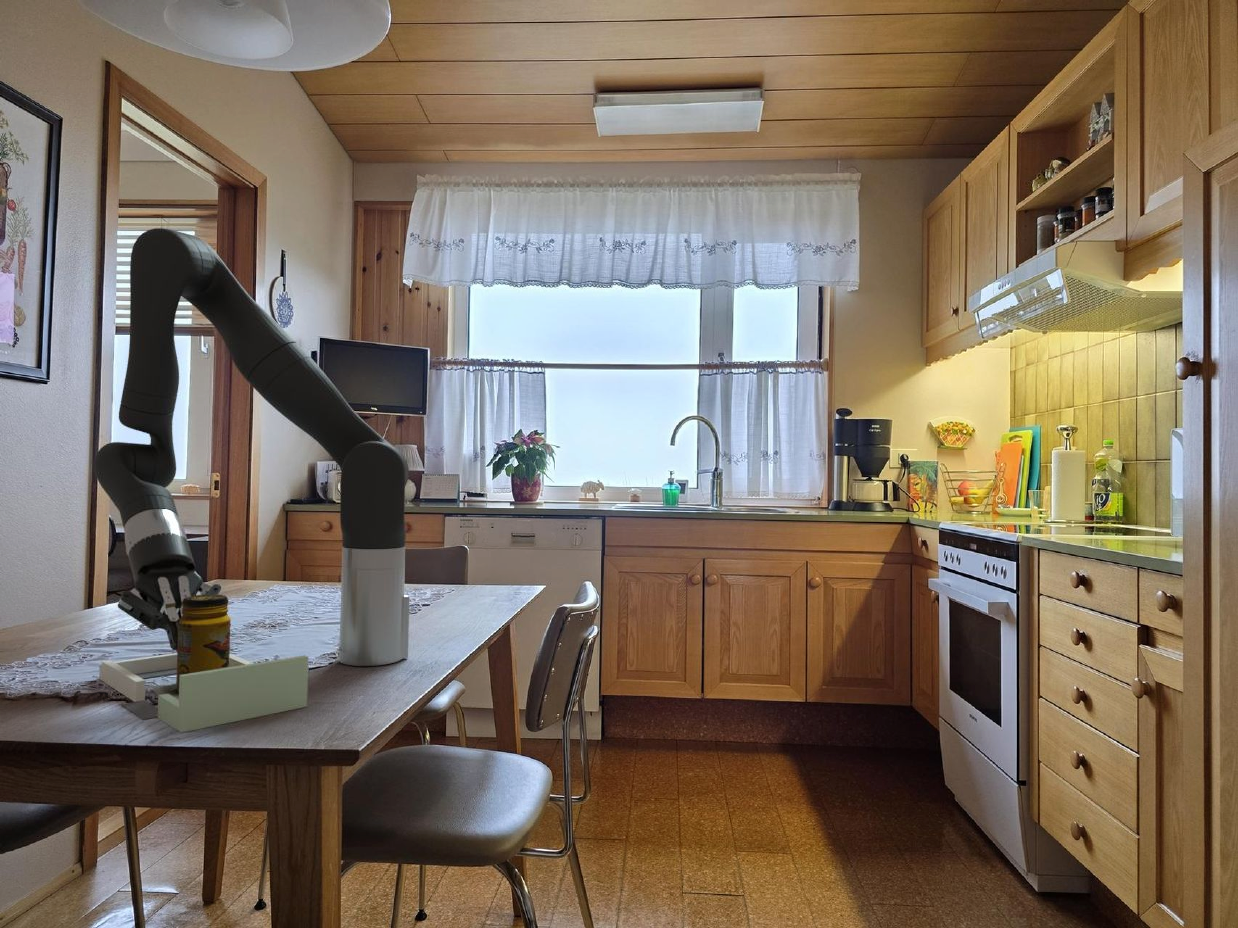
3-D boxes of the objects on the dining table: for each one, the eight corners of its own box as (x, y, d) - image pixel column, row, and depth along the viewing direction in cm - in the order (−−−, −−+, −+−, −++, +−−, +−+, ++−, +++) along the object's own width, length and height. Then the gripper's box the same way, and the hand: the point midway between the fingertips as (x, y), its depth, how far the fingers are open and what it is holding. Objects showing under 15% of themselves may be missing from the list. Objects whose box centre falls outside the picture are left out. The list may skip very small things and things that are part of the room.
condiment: (238, 691, 101) (241, 598, 101) (163, 702, 95) (166, 603, 95) (222, 679, 106) (225, 591, 106) (151, 689, 101) (154, 596, 101)
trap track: (209, 662, 115) (210, 621, 116) (306, 706, 95) (308, 656, 95) (85, 680, 104) (87, 635, 104) (165, 735, 83) (167, 679, 83)
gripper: (110, 532, 105) (135, 639, 96) (215, 529, 114) (246, 626, 106) (98, 568, 108) (121, 674, 100) (200, 562, 118) (229, 658, 109)
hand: (185, 649), depth 103 cm, fingers closed
